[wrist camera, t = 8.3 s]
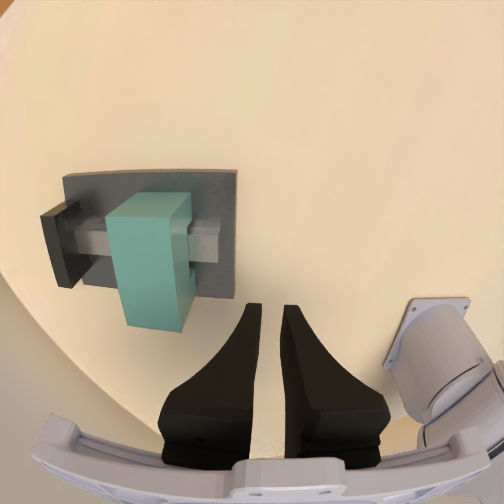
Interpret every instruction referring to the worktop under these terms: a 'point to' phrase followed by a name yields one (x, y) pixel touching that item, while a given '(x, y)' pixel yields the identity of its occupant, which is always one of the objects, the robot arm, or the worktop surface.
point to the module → (153, 259)
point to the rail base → (121, 189)
